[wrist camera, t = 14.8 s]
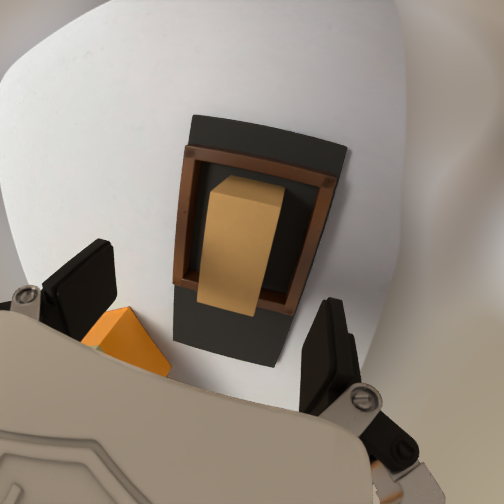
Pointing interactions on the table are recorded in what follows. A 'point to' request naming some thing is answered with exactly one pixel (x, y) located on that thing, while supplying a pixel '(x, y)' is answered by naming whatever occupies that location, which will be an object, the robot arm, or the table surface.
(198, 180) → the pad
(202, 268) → the brown block
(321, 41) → the table surface
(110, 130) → the table surface
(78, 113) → the table surface
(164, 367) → the orange juice
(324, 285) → the table surface
